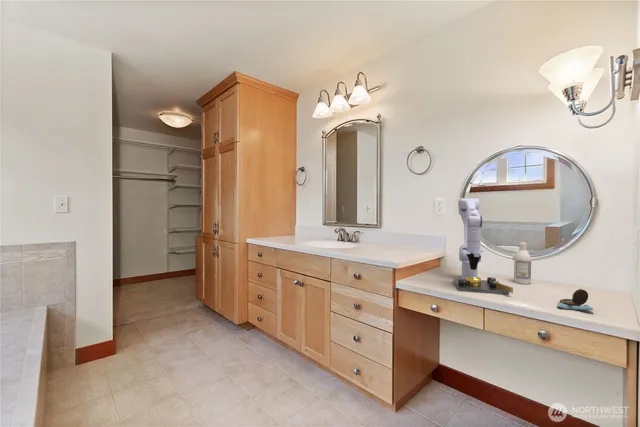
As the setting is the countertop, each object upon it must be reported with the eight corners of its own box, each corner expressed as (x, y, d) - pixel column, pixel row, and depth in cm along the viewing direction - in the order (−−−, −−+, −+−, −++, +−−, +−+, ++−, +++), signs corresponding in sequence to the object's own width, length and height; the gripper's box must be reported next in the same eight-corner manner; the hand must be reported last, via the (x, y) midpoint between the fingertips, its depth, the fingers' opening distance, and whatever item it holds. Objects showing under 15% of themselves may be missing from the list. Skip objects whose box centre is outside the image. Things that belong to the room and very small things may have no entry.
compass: (568, 301, 117) (569, 283, 117) (589, 308, 110) (589, 289, 109) (551, 302, 116) (551, 284, 116) (570, 309, 109) (571, 290, 108)
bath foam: (533, 284, 141) (534, 243, 140) (517, 284, 142) (518, 243, 141) (526, 281, 148) (527, 242, 147) (511, 280, 149) (512, 241, 148)
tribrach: (453, 281, 148) (453, 271, 148) (497, 284, 142) (498, 274, 142) (458, 290, 132) (458, 280, 131) (509, 294, 126) (509, 283, 125)
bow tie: (556, 306, 113) (557, 309, 109) (556, 301, 113) (557, 305, 109) (591, 309, 107) (594, 313, 103) (591, 304, 107) (594, 308, 103)
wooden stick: (487, 285, 134) (487, 280, 134) (493, 284, 135) (494, 280, 135) (508, 293, 122) (508, 288, 122) (515, 292, 123) (515, 287, 123)
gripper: (487, 243, 129) (486, 273, 129) (479, 239, 142) (479, 266, 143) (469, 242, 131) (469, 272, 131) (463, 238, 145) (463, 265, 145)
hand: (473, 269), depth 137 cm, fingers closed
